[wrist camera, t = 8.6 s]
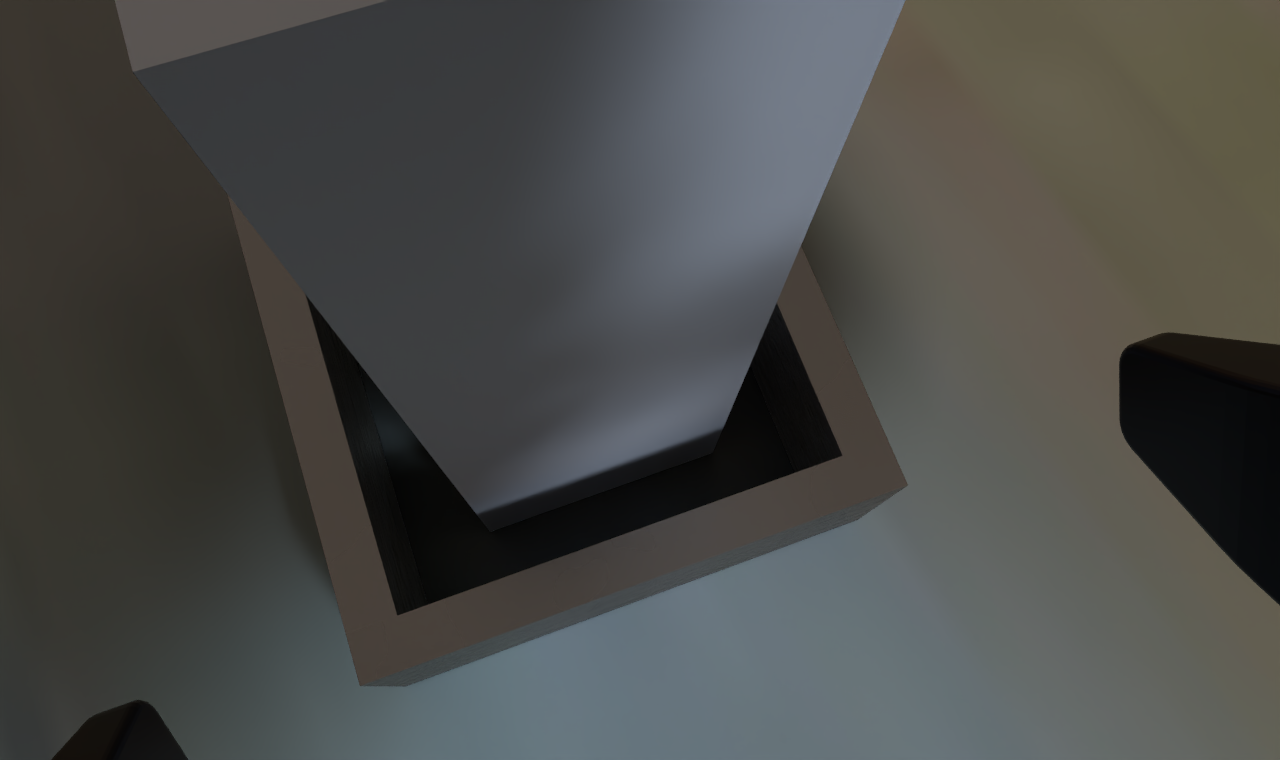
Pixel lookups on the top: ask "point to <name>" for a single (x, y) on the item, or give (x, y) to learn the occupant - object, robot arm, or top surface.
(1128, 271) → the top surface
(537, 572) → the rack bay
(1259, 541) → the robot arm
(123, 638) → the top surface
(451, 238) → the grey rectangular prism
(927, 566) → the top surface
